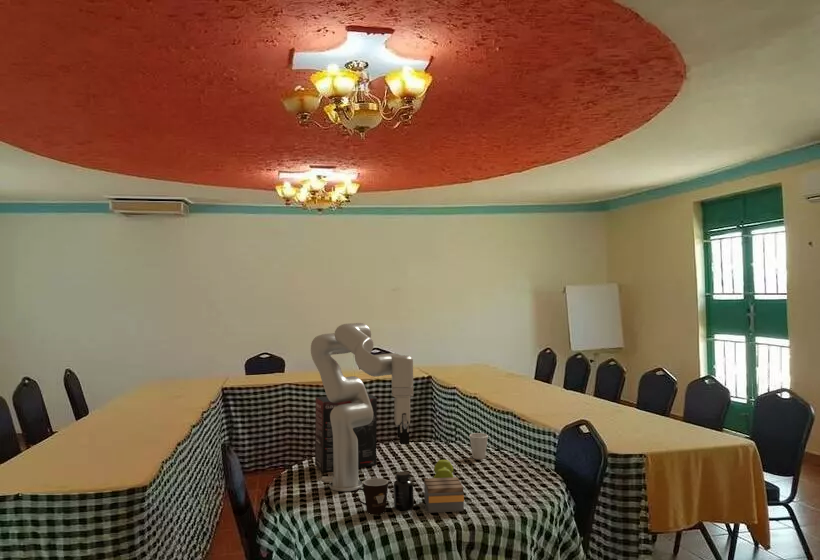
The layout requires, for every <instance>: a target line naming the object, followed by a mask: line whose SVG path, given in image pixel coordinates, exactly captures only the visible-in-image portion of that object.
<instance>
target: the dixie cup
mask: <svg viewBox="0 0 820 560" xmlns="http://www.w3.org/2000/svg"><path fill="white" fill-rule="evenodd" d="M488 438H489V434H487V433H484V432H474V433H470V434H469V441H470V447H471V448H470V449H471V455H472V458H473V459H474V460H484V459H486V457H487V455H486V454H487V445H488Z"/></svg>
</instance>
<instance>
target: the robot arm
mask: <svg viewBox="0 0 820 560" xmlns="http://www.w3.org/2000/svg"><path fill="white" fill-rule="evenodd" d="M373 348H374V340H373V339H372V332H371V329H370V327H369V326H368V325H367V324H366V323H364V322H354V323H352V322H351V323H343V324H340V325H339V326H337V327H336V328H335V330H334V332H330V333H323V334H319V335H317V336H315V337H314V338H313V339H312V341H311V343H310V355H311V359H312V361H313V363H314V365H315V367H316V369H317V371H318V372H319V373H318V374H319V376H320V379H321V382H322V386H323V388H324V391H325V394H326V396H327V397H328V399H329V401H331V402H333V403H339V402H345V401H351V402H352V403H347V404H342V405H338V406H336V407H335V408H333V410H332V411H331V414H330V420H331V425H332V431H333V471H332V472H333V473H332V475H331V474H330V476H326V475H325V476H321V482H324V483H326V484H327V483H329V489H330V490H332V491H335V492H352V491H355V490H357V489H358V488H363V481H362V480H361V479H360V480H359V468H358V439H357V436H356V434H355V433H354V431H353V428H355V427H360V426H365V425H368V424H370V423H371V422H372V420H373V409H372V406H371V403H370V400H369V397H368V394H369V393H368V391H367V389H366V386H365V384H364V382H363V381H362V379H361V378H360V377H358V376H344V373H343V371H342V368H341V365H340V364H339V363H338V362H337V361H336V359H334V358H333V357H332V355H343V354H349V353H352V354H353V355H354V361H355V364H356V366H357V368H358V369H360V370H362V371H363V372H364V373H365V374H367V375H368V376H371V377H375V378H376V377H377V378H378V377H382V376H383V377H384V376H391V397H394V402H393V403H394V407H393V409H394V410H393V411H394V414H393V415H394V416H393V417H394V419H393V420H394V421H393V422H394V424H395V426H396V427H397V428H396V429H397V433H396V434H397V435H396V436H397V438H399V444H400V445H409V444H410V429H409V426H410V425H411V397H414V359H413V357H412V356H409V355H403V354H398V353H393V352H391V353H382V354H372V351H373Z"/></svg>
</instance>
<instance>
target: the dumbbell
mask: <svg viewBox="0 0 820 560" xmlns="http://www.w3.org/2000/svg"><path fill="white" fill-rule="evenodd" d="M433 471H434V473H435V474H434V476H433V478H452V477H454V475H453V472H454V466H453V465H452V463H451V462H450V460H449V459H439V460H437V462H436V463H435V465H434V467H433Z"/></svg>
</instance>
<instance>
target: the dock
mask: <svg viewBox="0 0 820 560" xmlns="http://www.w3.org/2000/svg"><path fill="white" fill-rule="evenodd" d="M423 488H424V492H423V494H424V503H426V504H425V507H426V509H427V513H429V512H430V513H431V514H432V513H449V512H451V513H453V512H464V507H465V506H464V502H465V496H464V491H463V492H447V493H428V491H427V488H426V486H425V483H424V487H423Z"/></svg>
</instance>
